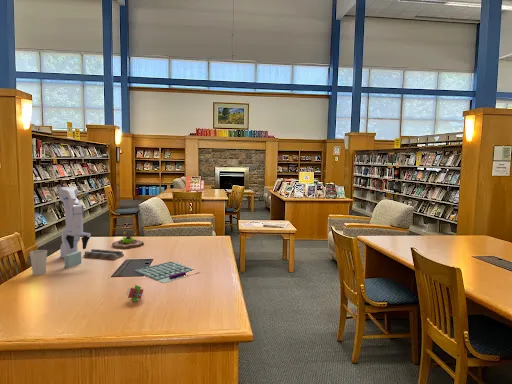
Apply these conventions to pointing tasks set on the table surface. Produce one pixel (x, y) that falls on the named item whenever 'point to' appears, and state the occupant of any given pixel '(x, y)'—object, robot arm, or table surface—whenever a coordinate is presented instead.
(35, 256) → the cup
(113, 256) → the door track
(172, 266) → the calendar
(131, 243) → the plant
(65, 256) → the door panel
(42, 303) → the table surface
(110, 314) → the table surface
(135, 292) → the geometric puzzle
